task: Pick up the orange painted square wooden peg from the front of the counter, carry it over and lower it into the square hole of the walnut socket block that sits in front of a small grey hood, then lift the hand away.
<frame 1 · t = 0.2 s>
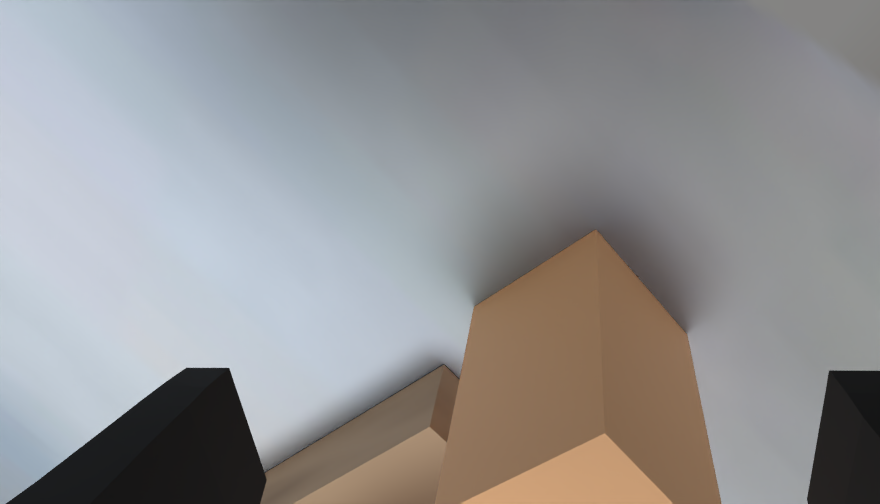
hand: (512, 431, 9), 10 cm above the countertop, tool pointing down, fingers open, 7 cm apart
peg: (579, 320, 20), on the countertop
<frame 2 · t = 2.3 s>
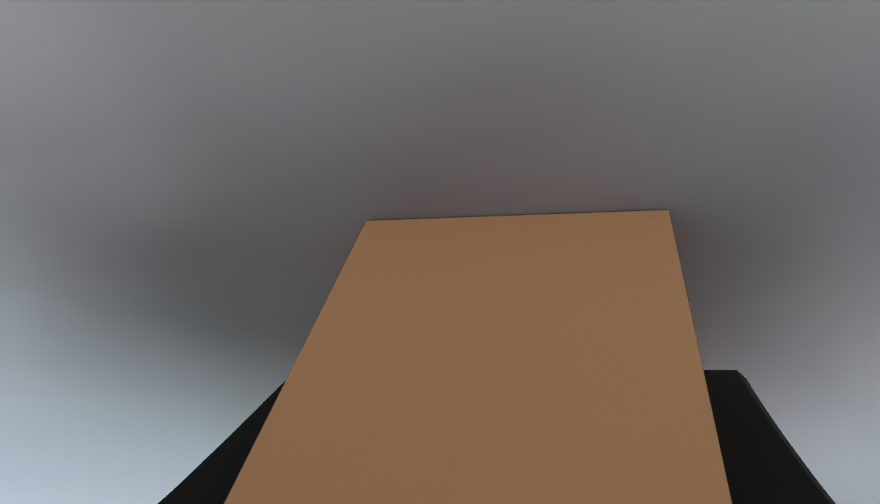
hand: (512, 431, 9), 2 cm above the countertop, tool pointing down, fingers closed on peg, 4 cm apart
peg: (521, 336, 11), on the countertop, touching gripper
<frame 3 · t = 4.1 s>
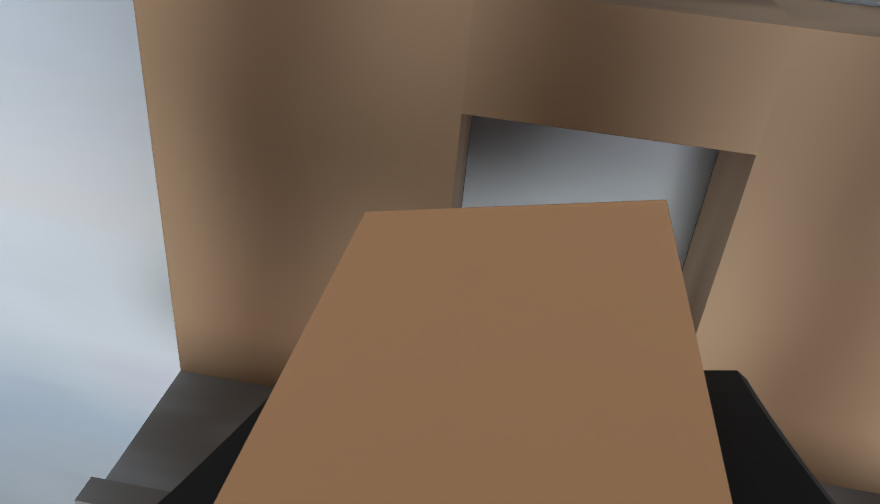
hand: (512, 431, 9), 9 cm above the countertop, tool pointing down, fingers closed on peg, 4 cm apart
peg: (520, 327, 11), point 7 cm above the countertop, touching gripper
socket block: (579, 201, 17), on the countertop
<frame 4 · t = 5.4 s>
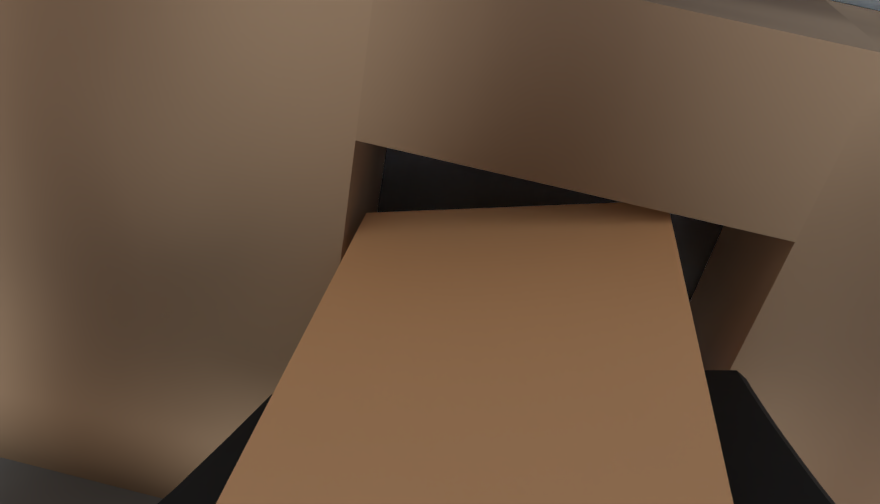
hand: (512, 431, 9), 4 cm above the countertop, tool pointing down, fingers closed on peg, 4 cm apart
peg: (521, 328, 11), point 2 cm above the countertop, touching gripper
socket block: (530, 264, 13), on the countertop
when the fingers open (3 cm above the countertop, at t = 6.4 s): peg drops 1 cm, resting in socket block.
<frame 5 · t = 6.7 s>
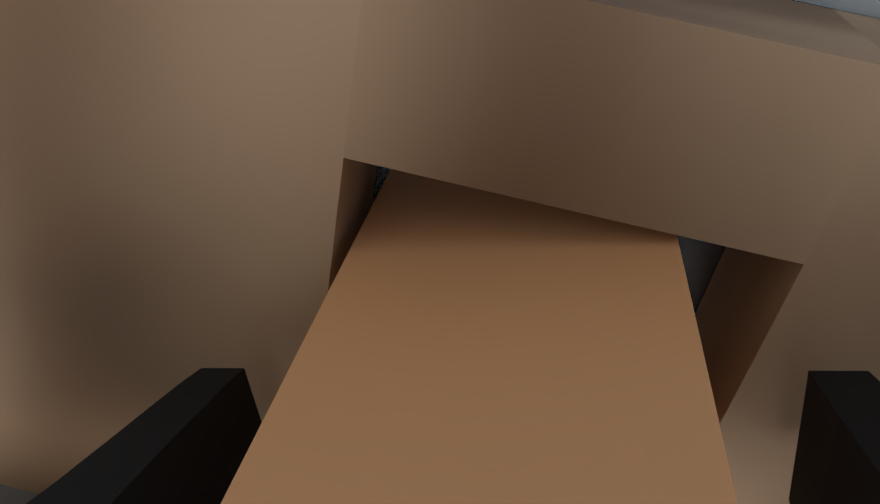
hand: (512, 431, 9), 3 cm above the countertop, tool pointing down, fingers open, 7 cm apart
peg: (528, 276, 12), resting in socket block
socket block: (528, 281, 12), on the countertop
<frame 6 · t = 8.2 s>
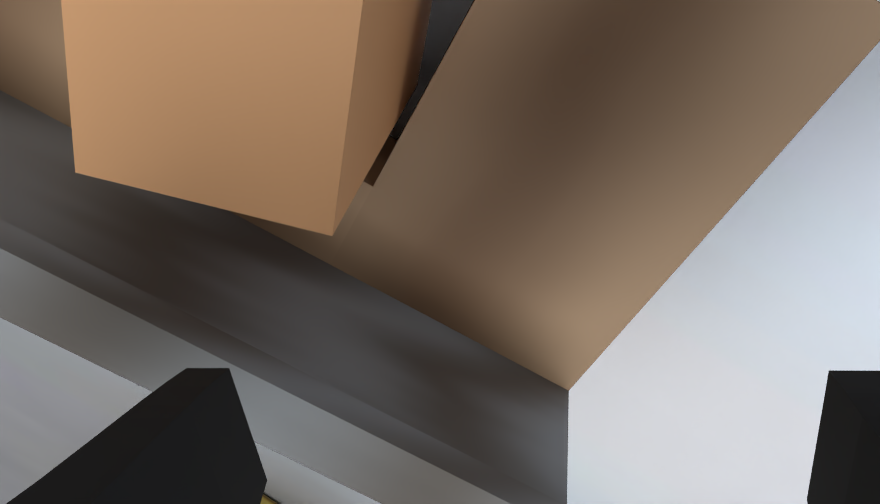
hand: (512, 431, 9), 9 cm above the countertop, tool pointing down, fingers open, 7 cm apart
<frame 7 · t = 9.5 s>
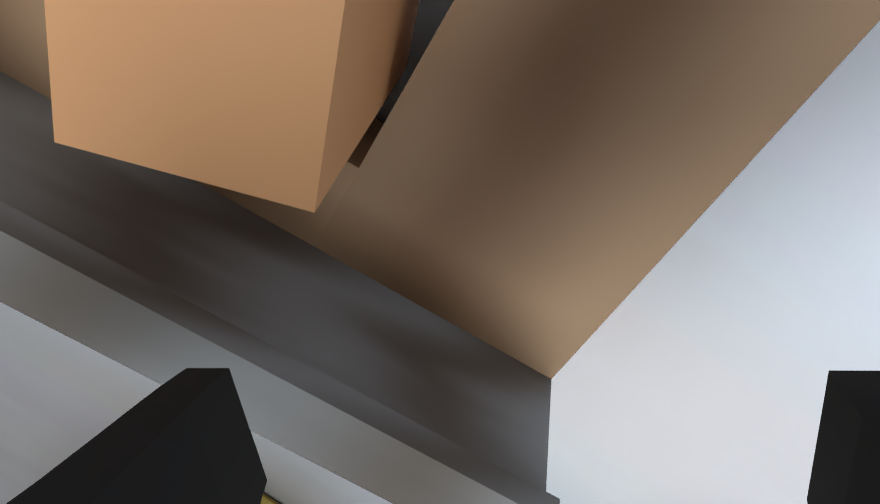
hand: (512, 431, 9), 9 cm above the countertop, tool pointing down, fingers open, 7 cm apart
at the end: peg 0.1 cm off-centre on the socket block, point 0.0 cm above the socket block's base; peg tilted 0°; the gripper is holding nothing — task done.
